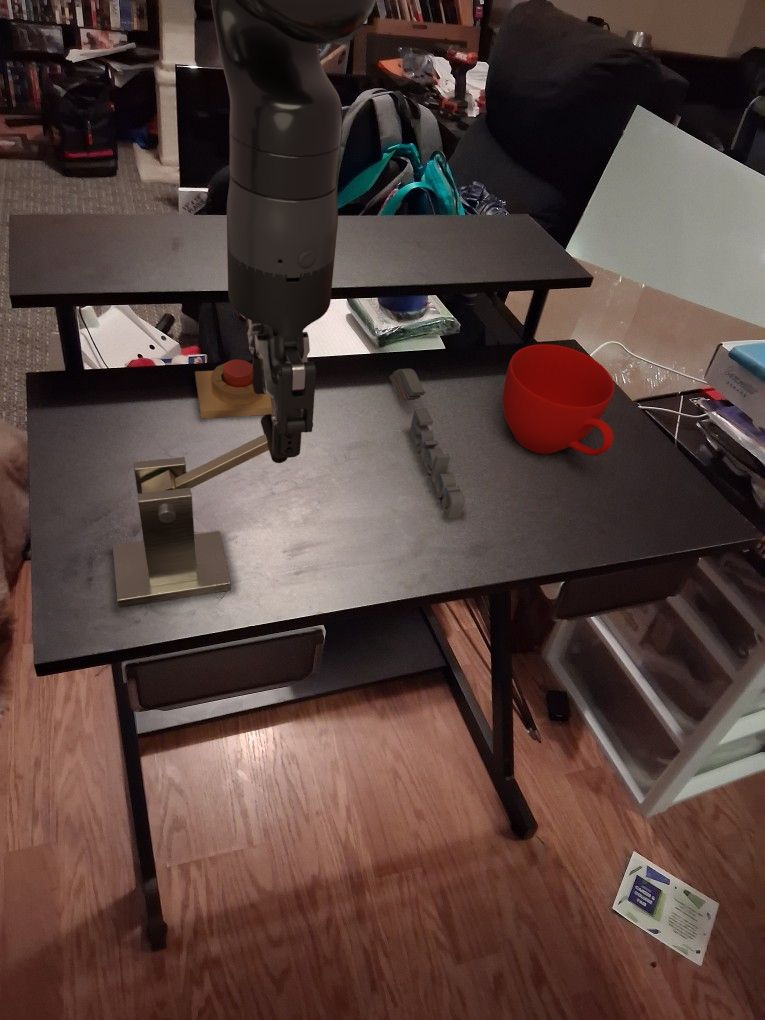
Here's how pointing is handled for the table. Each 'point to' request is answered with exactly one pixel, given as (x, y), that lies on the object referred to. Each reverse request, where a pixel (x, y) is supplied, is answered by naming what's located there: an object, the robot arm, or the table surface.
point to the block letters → (429, 444)
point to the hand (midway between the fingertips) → (275, 422)
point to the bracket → (168, 546)
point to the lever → (216, 463)
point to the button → (238, 373)
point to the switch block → (228, 397)
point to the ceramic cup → (556, 399)
